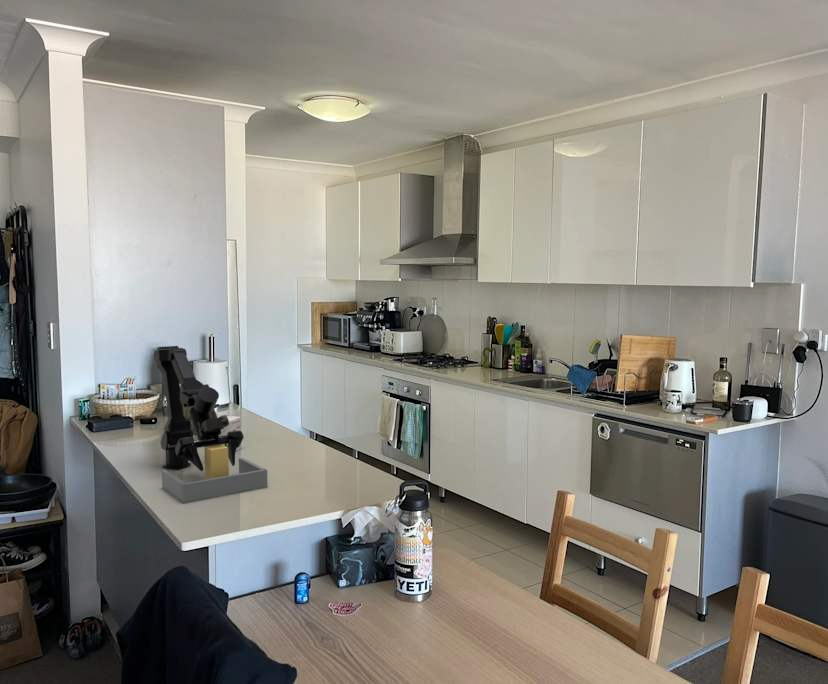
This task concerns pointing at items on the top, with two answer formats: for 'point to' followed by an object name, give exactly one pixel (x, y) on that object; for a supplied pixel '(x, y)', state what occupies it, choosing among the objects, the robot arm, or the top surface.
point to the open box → (216, 483)
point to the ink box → (231, 427)
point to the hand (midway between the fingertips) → (218, 467)
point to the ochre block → (216, 461)
